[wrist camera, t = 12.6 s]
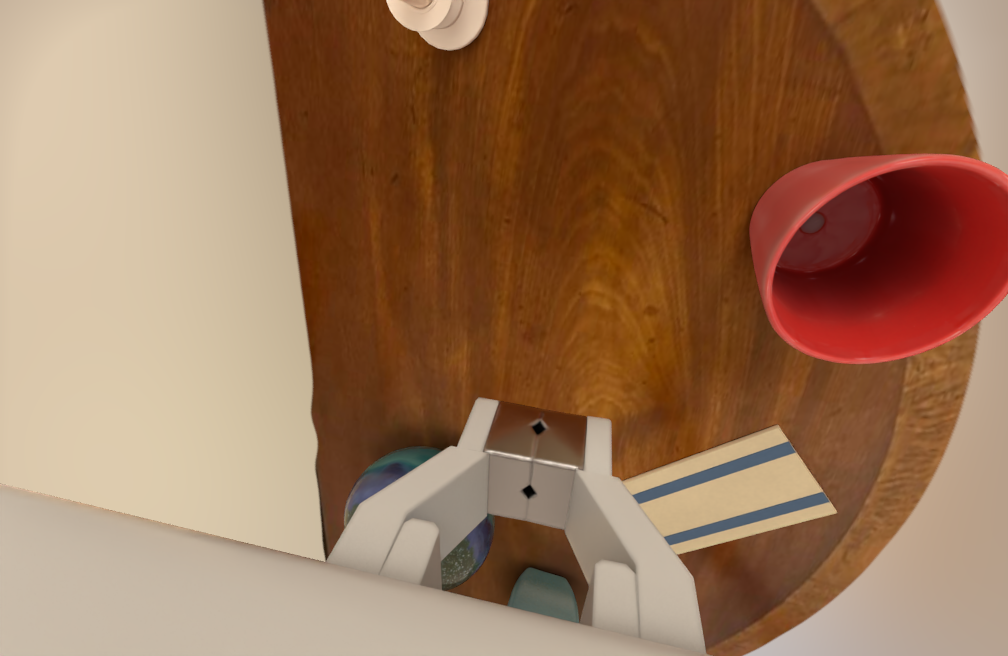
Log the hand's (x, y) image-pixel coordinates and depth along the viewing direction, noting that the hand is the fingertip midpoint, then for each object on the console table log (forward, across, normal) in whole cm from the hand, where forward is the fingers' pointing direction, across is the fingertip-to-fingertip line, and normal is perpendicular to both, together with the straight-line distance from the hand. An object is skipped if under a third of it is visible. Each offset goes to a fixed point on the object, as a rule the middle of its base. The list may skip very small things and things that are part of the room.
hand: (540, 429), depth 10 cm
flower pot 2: (+26, -15, +1) cm, 30 cm away
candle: (+26, +10, -10) cm, 29 cm away
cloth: (+25, -16, +30) cm, 42 cm away
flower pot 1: (+26, -1, +49) cm, 56 cm away
